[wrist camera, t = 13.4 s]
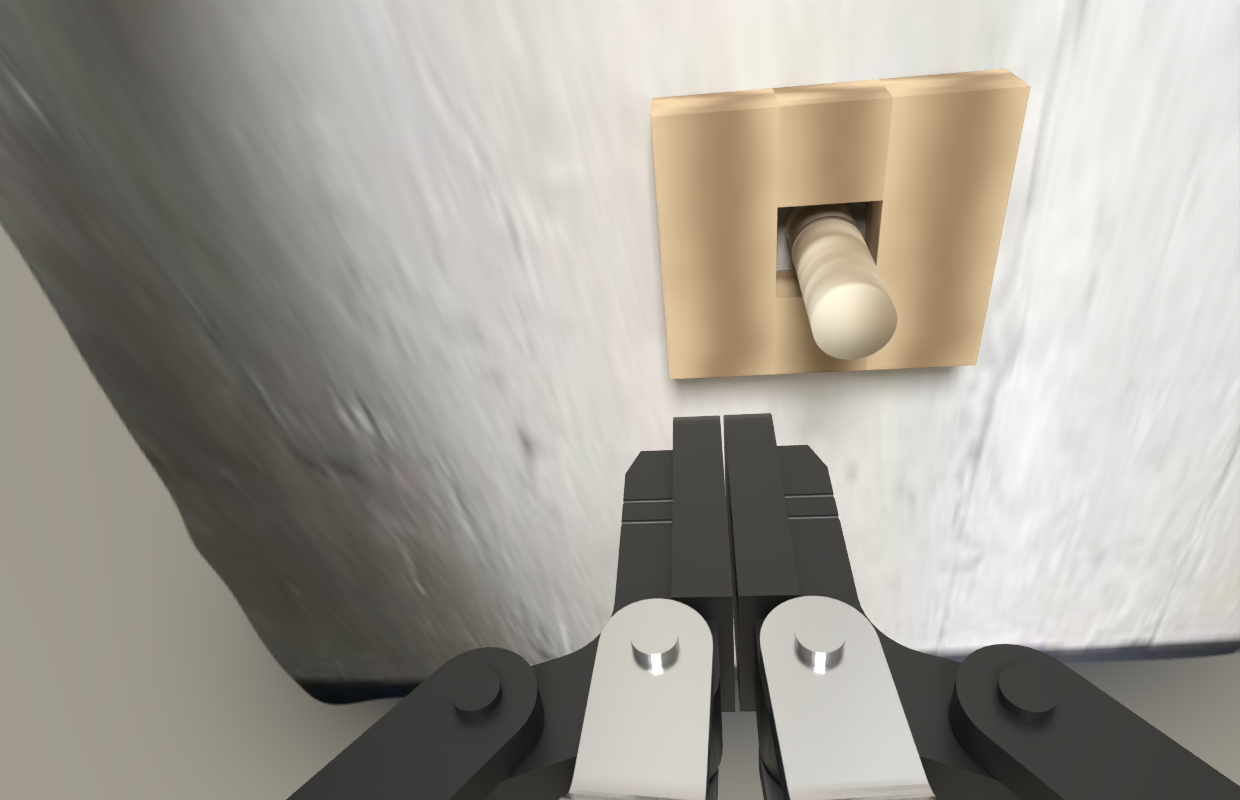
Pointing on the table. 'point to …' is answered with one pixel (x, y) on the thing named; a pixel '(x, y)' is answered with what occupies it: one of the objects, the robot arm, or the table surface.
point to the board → (828, 174)
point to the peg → (839, 282)
